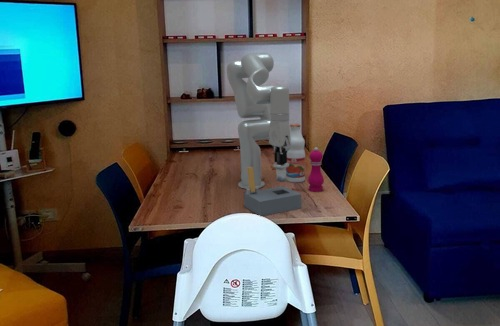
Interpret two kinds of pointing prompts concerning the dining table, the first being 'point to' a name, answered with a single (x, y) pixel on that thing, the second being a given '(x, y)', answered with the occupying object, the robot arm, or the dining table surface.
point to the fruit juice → (296, 156)
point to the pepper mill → (316, 171)
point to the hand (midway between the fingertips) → (280, 162)
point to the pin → (280, 169)
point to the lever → (251, 179)
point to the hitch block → (272, 200)
